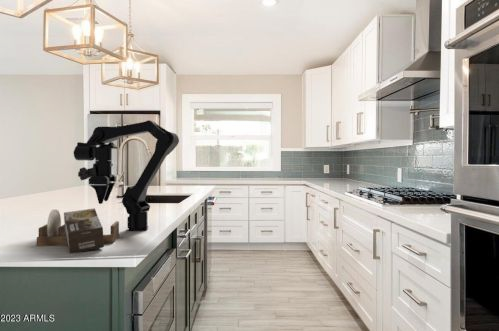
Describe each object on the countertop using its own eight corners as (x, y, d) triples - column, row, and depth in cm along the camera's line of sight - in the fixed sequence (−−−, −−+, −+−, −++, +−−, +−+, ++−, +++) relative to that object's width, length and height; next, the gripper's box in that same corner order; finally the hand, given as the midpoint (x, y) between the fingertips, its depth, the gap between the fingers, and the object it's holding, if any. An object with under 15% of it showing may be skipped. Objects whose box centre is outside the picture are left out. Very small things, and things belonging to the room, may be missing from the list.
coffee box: (65, 231, 112) (68, 254, 98) (63, 211, 110) (66, 233, 97) (96, 226, 116) (104, 248, 103) (95, 207, 115) (102, 227, 101)
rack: (118, 236, 121) (118, 206, 121) (113, 243, 111) (113, 210, 111) (49, 238, 117) (49, 207, 117) (36, 245, 107) (36, 212, 107)
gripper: (87, 160, 143) (86, 199, 143) (73, 160, 125) (72, 205, 125) (116, 160, 145) (116, 199, 145) (107, 160, 127) (106, 205, 127)
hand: (103, 202), depth 135 cm, fingers open, 9 cm apart
